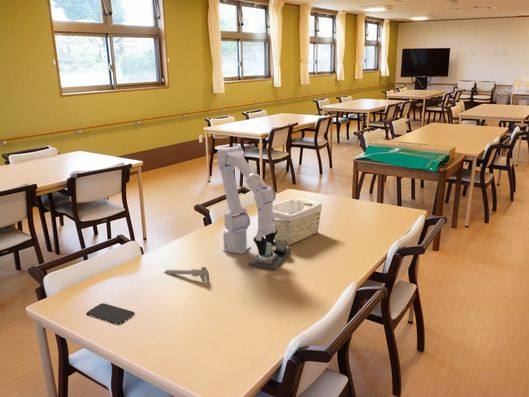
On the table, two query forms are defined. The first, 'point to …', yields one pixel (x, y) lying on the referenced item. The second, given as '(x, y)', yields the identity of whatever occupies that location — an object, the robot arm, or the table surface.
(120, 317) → the phone
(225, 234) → the robot arm
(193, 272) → the caliper
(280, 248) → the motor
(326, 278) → the table surface
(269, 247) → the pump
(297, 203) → the storage basket
